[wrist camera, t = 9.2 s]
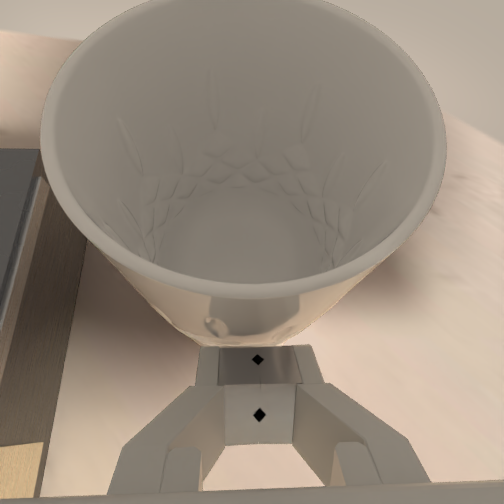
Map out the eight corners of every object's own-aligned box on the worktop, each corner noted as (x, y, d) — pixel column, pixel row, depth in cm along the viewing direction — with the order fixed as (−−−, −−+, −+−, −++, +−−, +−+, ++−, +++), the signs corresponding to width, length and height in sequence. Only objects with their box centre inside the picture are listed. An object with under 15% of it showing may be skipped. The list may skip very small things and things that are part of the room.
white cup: (341, 366, 15) (508, 285, 6) (144, 378, 14) (-5, 310, 5) (315, 201, 18) (396, -15, 9) (154, 206, 18) (70, -19, 9)
